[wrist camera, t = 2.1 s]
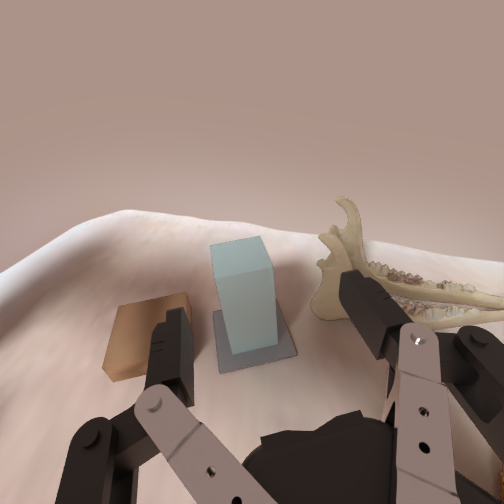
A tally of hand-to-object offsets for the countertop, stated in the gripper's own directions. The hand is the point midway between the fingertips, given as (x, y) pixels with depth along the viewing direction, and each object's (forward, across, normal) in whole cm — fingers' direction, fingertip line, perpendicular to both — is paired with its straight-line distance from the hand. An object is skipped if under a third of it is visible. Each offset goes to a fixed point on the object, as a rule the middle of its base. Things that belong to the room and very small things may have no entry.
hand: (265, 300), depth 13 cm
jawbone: (+9, -21, +19) cm, 29 cm away
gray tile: (+12, 0, +18) cm, 22 cm away
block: (+12, 0, +18) cm, 22 cm away
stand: (+14, +12, +18) cm, 26 cm away
